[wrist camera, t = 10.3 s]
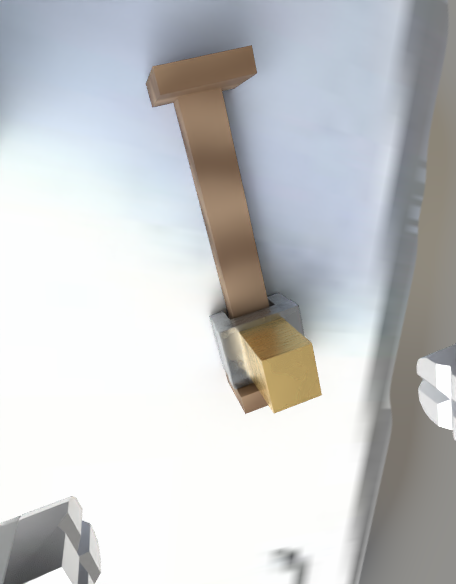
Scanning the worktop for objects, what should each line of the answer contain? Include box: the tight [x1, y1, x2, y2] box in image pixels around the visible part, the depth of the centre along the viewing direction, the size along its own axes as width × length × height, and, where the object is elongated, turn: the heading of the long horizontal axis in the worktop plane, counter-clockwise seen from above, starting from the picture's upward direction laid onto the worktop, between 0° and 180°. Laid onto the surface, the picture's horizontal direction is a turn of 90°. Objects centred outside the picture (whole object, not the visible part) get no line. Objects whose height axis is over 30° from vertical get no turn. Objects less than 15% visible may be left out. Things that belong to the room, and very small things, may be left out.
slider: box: [209, 293, 322, 413], centre depth 31 cm, size 5×6×9 cm
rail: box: [146, 45, 269, 414], centre depth 30 cm, size 24×6×5 cm, turn 14°
